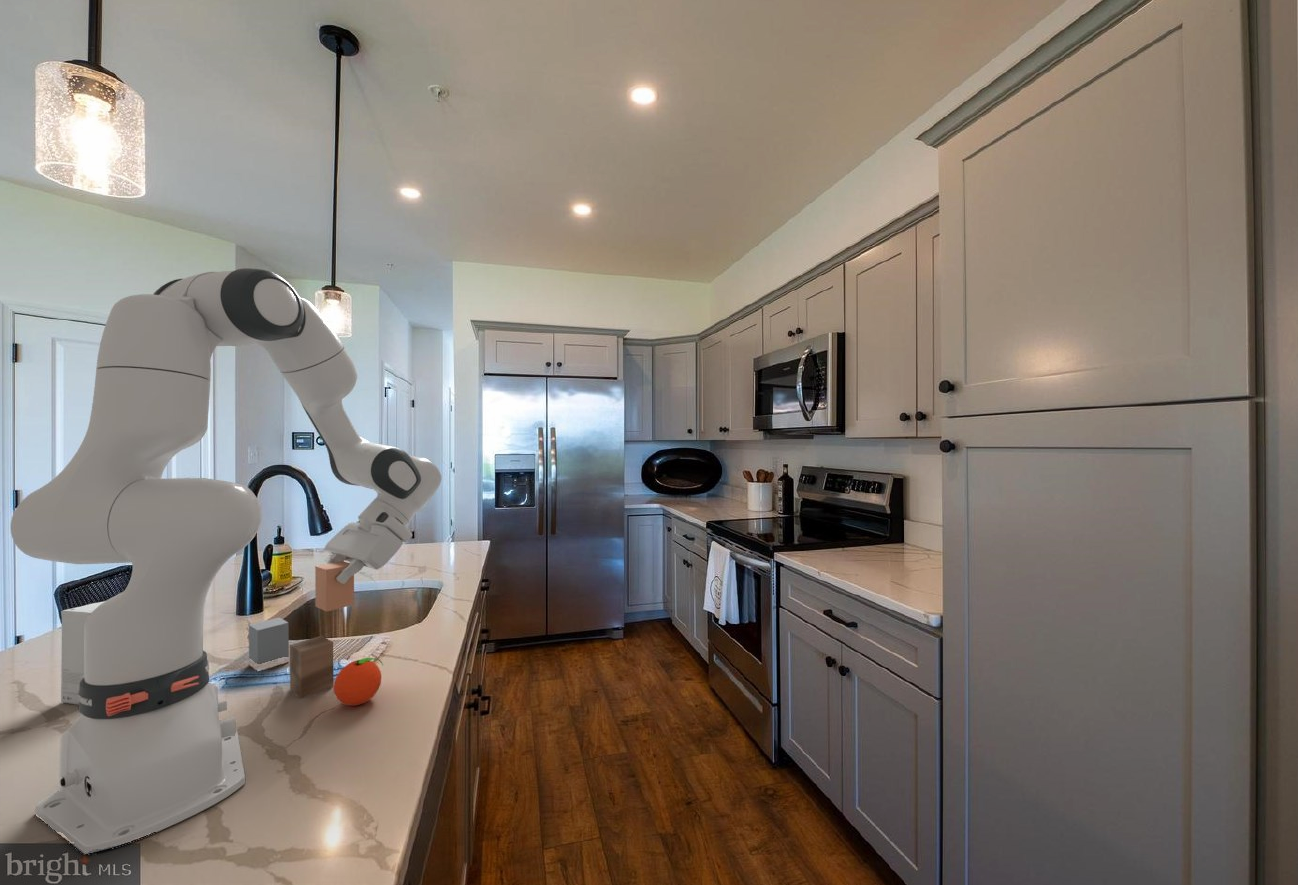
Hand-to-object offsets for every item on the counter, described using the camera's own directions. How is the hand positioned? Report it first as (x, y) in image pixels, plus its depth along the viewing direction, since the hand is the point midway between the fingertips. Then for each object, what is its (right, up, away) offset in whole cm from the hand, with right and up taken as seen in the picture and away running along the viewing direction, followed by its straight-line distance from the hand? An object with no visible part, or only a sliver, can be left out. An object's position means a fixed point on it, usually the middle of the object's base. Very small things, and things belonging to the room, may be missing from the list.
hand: (331, 579), depth 98 cm
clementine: (+14, -17, -14) cm, 26 cm away
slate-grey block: (-12, -17, 0) cm, 21 cm away
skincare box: (-33, -17, -11) cm, 39 cm away
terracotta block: (0, -5, +1) cm, 5 cm away
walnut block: (+3, -17, -10) cm, 20 cm away
